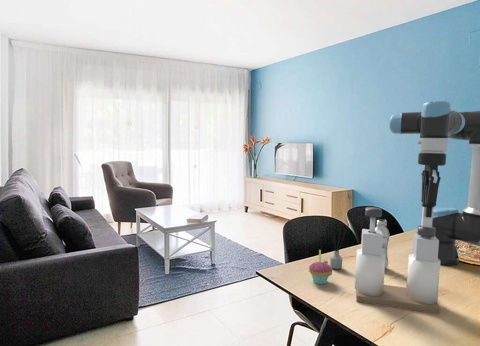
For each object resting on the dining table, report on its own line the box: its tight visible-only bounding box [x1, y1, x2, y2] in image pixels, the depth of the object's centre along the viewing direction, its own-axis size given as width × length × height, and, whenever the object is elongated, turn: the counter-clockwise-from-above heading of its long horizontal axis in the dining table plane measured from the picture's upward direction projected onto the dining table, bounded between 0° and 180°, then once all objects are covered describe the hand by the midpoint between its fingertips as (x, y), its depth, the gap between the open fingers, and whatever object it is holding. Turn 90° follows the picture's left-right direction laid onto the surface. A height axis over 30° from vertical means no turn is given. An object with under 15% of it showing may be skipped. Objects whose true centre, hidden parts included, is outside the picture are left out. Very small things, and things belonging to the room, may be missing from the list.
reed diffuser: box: [322, 219, 350, 270], centre depth 136 cm, size 10×7×20 cm
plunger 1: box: [364, 206, 383, 233], centre depth 111 cm, size 5×5×9 cm
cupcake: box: [308, 250, 334, 285], centre depth 124 cm, size 9×8×12 cm
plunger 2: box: [416, 224, 436, 238], centre depth 107 cm, size 5×5×9 cm
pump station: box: [354, 228, 441, 315], centre depth 111 cm, size 25×12×22 cm, turn 73°
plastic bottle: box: [375, 219, 390, 270], centre depth 137 cm, size 6×7×20 cm
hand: (426, 226), depth 107 cm, fingers closed
